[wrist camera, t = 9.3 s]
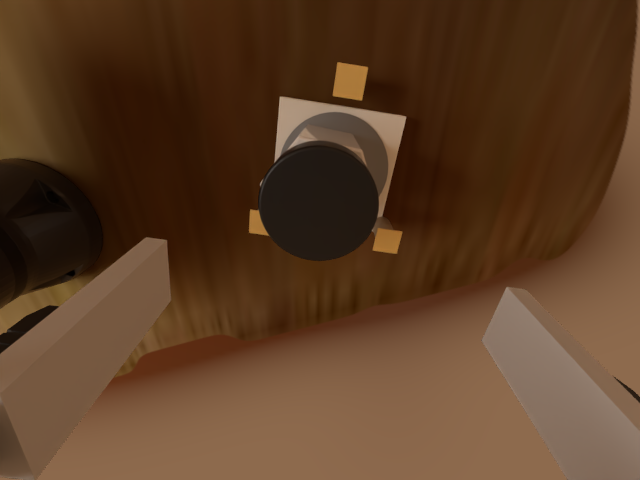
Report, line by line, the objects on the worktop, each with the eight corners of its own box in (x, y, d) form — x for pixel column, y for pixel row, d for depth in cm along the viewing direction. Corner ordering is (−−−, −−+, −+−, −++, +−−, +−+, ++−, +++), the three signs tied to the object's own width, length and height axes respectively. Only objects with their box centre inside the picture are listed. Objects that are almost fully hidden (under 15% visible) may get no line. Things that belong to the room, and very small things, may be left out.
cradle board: (262, 209, 37) (249, 232, 31) (272, 57, 30) (258, 49, 24) (385, 227, 37) (396, 253, 31) (422, 82, 31) (445, 79, 25)
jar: (272, 198, 33) (245, 250, 22) (284, 117, 30) (258, 131, 19) (355, 215, 34) (367, 273, 23) (376, 137, 30) (401, 162, 20)
